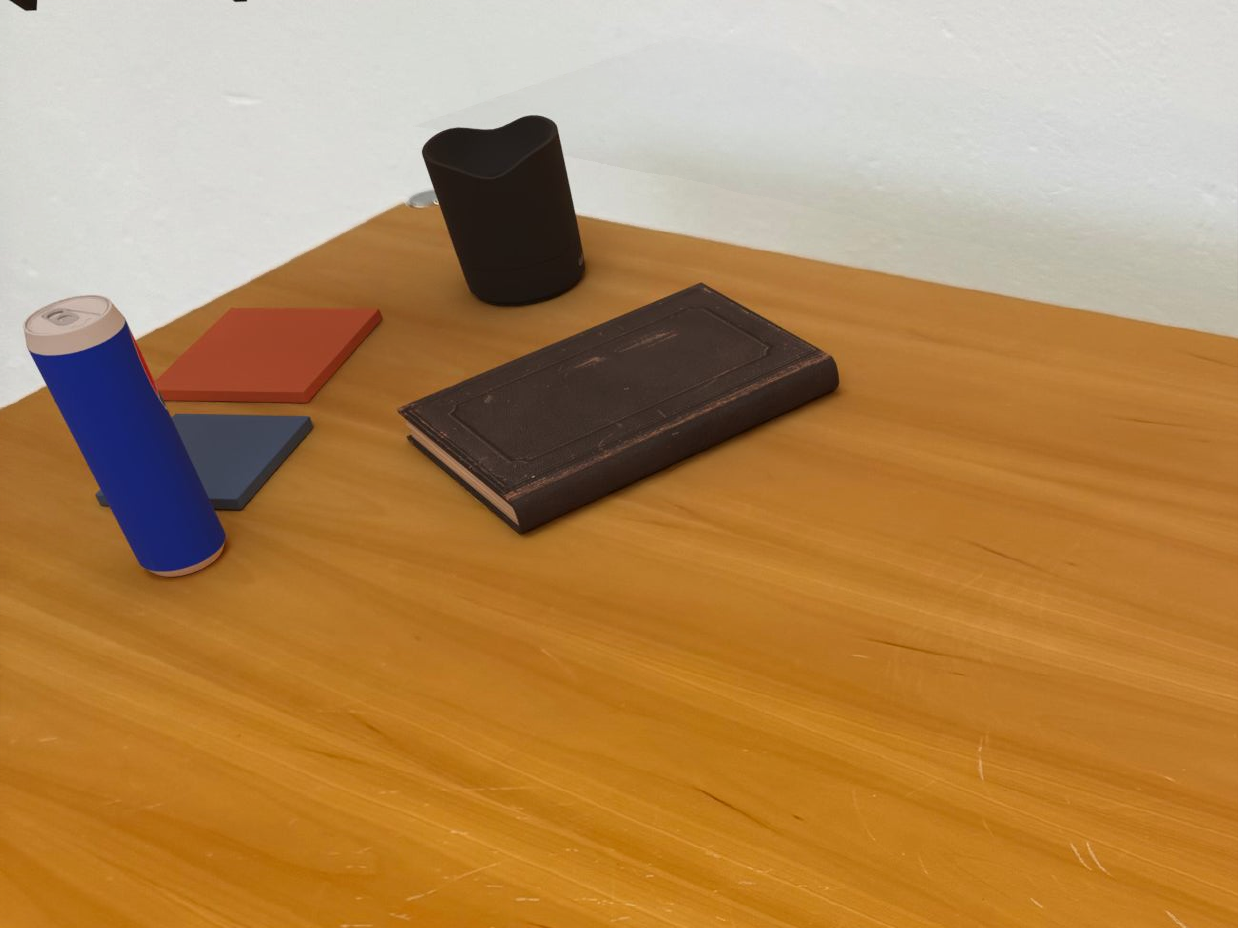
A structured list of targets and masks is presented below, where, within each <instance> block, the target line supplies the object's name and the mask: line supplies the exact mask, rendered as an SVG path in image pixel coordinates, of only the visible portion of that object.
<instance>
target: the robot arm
mask: <svg viewBox="0 0 1238 928" xmlns="http://www.w3.org/2000/svg"><path fill="white" fill-rule="evenodd" d="M8 1H9V2H11V3H13V4H14V5H16V6H17V7H18V8H20V9H22V10H23V11H25V12H33V11H37V10H38V0H8ZM232 1H233V2H234V3H247V2H248V0H232Z"/></svg>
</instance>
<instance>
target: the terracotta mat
mask: <svg viewBox="0 0 1238 928" xmlns="http://www.w3.org/2000/svg"><path fill="white" fill-rule="evenodd" d="M382 320H383V316H382V313H381V310H380V308H374V307H373V308H372V307H371V308H370V307H369V308H363V307H361V308H360V307H359V308H354V307H353V308H352V307H351V308H346V307H345V308H344V307H332V308H331V307H328V308H327V307H230V308H229V309H228V310H227V311H226V312H224V314H222V316H221V317H219V319H217V320H216V321H215V323H213V324H212V325H211V326H210V327H209V328H207V330H206V331H205V332H204V333H203V334H202V335H201V336H199V338H198V339H197V340H196V341H195V342H194V343H192V345H190V346H189V348H187V350H186V351H184V352H183V354H181V355H180V356H179V357H178V358H177V359H176V360H175V361H174V362H173V363H172V364H171V365H170V366H169V367H168V368H167V369H166V370H165V371H164V372H163V373H162V374H160V376H158V377H157V378H156V379H155V380H154V381H155V383H156V386H157V388H158V390H159V392H160V394H161V396H162V398H163V401H177V402H178V401H179V402H181V401H183V402H185V401H186V402H232V403H233V402H235V403H236V402H237V403H238V402H239V403H240V402H241V403H242V402H243V403H294V404H295V403H297V404H299V403H300V404H308V403H309V402H310V401H311V400H312V398H314V396H316V394H317V393H318V392H319V391H320V390H321V388H323V386H324V385H325V384H326V383H327V382H328V381H329V379H331V378H332V376H333V375H334V374H335V373H336V372H337V371H338V369H339V368H340V367H341V366H342V365H343V364H344V363H345V361H346V360H347V359H348V358H349V357H350V356H351V355H352V354H353V353H354V351H355V350H356V349H357V348H358V347H359V346H360V345H361V344H362V342H364V340H365V339H366V338H367V337H368V336H369V335H370V334H371V332H373V330H374V329H375V328H376V327H377V326H378V324H380V323H381V322H382Z"/></svg>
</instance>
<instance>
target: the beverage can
mask: <svg viewBox="0 0 1238 928" xmlns="http://www.w3.org/2000/svg"><path fill="white" fill-rule="evenodd" d="M126 319H127V318H126V317H125V316H124V315H123V313H122V312H121V311H120V310H119V308H117V306H116V305H115V304H114V303H113V302H112V300H111V299H109V297H107V296H103V295H98V294H84V295H76V296H70V297H67V298H63V299H60V300H57V301H53V302H51V303H49V304H47V305H44V306H42V307H41V308H39V309H36V310H35V311H34V312H32V313H31V314H30V315H29V316H27V318H26V319H25V320H24V322H23V323H22V324H23V325H22V328H23V332H24V338H25V339H24V340H25V346H26V348H27V350H28V353H29V354H30V357H31V358H32V361H33V363H34V364H35V366H36V368H37V370H38V372H39V374H40V376H41V377H42V380H43V381H44V383H45V386H46V387H47V389H48V391H49V394H50V395H51V397H52V399H53V401H54V403H55V405H56V406H57V408H58V410H59V412H60V414H61V417H62V418H63V420H64V422H65V423H66V425H67V426H66V427H67V428H68V429H69V431H70V434H71V435H72V438H73V439H74V441H75V443H76V445H77V447H78V449H79V451H80V453H81V455H82V456H83V459H84V461H85V462H86V464H87V466H88V469H89V470H90V472H91V474H92V476H93V478H94V480H95V482H96V483H97V485H98V487H99V490H100V489H101V491H102V493H103V495H104V497H105V499H106V501H107V503H108V505H109V506H108V505H107V506H108V507H109V508H110V510H111V513H112V515H113V516H114V518H115V520H116V522H117V524H118V526H119V528H120V530H121V532H122V534H123V535H124V537H125V540H126V541H127V543H128V546H129V547H130V549H131V551H132V553H133V555H134V557H135V559H136V560H137V562H138V564H139V565H140V566H141V567H142V568H143V569H145V570H147V571H148V572H151V573H153V574H154V575H157V576H159V577H168V578H170V577H173V578H174V577H181V576H186V575H189V574H192V573H196V572H198V571H201V570H203V569H205V568H206V567H208V566H210V565H211V564H213V563H214V562H215V561H216V560H217V559H218V558H219V557H220V556H221V555H222V553H223V550H224V546H225V544H226V543H225V542H226V539H227V537H226V536H227V534H226V531H225V529H224V527H223V525H222V522H221V521H220V518H219V517H218V515H217V513H216V509H214V508H213V506H212V504H211V501H210V499H209V497H208V495H207V493H206V491H205V489H204V486H203V484H202V482H201V480H200V478H199V476H198V474H197V471H196V469H195V467H194V465H193V463H192V461H191V458H190V456H189V454H188V452H187V450H186V448H185V446H184V443H183V441H182V439H181V437H180V435H179V433H178V431H177V428H176V426H175V424H174V422H173V420H172V418H171V417H172V415H171V413H170V411H169V409H168V407H167V405H166V403H165V400H163V398H162V396H161V394H160V392H159V390H158V388H157V386H156V383H155V381H156V380H154V377H153V375H152V373H151V371H150V369H149V367H148V364H147V362H146V359H145V357H144V356H143V354H142V351H141V349H140V346H139V345H138V343H137V341H136V339H135V336H134V334H133V332H132V329H131V327H130V326H129V323H128V322H127V320H126Z"/></svg>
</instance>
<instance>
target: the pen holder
mask: <svg viewBox="0 0 1238 928" xmlns="http://www.w3.org/2000/svg"><path fill="white" fill-rule="evenodd" d="M421 155H422V159H423V162H424V164H425V167H426V171H427V173H428V176H429V179H430V182H431V185H432V188H433V191H434V194H435V197H436V199H437V202H438V206H439V209H440V211H441V214H442V217H443V220H444V223H445V226H446V229H447V231H448V235H449V237H450V240H451V243H452V245H453V246H452V247H453V249H454V252H455V254H456V258H457V260H458V263H459V266H460V268H461V272H462V274H463V277H464V279H465V282H466V285H467V287H468V289H469V291H470V293H471V294H472V295H473V296H475V297H476V298H477V299H479V301H481V302H484V303H486V304H490V305H495V306H503V307H504V306H507V307H509V306H510V307H511V306H513V307H515V306H524V305H530V304H531V305H532V304H536V303H540V302H543V301H547V300H550V299H552V298H555V297H558V296H560V295H562V294H564V293H566V292H568V291H569V290H571V289H573V287H575V286H576V285H577V284H578V283H579V282H580V281H581V279H582V277H583V274H584V272H585V270H586V261H585V256H584V255H585V254H584V250H583V245H582V239H581V234H580V229H579V224H578V219H577V214H576V209H575V204H574V200H573V199H574V198H573V195H572V189H571V184H570V181H569V177H568V171H567V166H566V162H565V156H564V152H563V147H562V142H561V138H560V133H559V127H558V125H557V123H556V122H555V121H553V120H552V119H551V118H548V117H547V116H543V115H538V114H530V115H524V116H522V117H519V118H516V119H515V120H513V121H511V122H509V123H506V124H504V125H502V126H500V127H499V126H498V127H495V128H488V129H487V128H486V129H485V128H472V127H458V126H457V127H452V128H451V127H450V128H447V129H444V130H442V131H440V132H437V133H436V134H434V135H432V136H431V137H430V138H429V139H427V141H426V142H425V143H424V144H423V147H422V149H421Z"/></svg>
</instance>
